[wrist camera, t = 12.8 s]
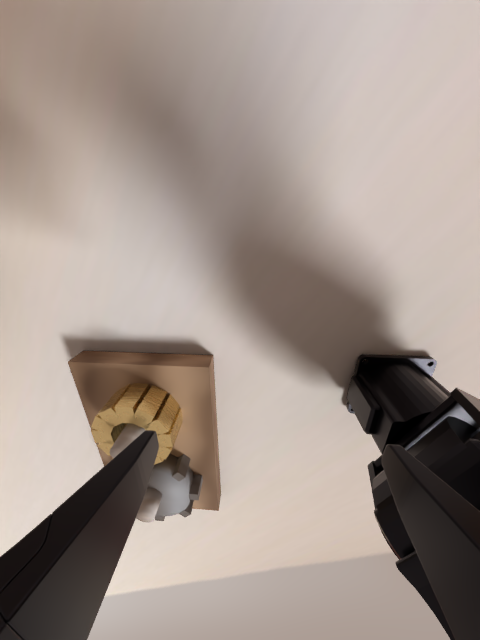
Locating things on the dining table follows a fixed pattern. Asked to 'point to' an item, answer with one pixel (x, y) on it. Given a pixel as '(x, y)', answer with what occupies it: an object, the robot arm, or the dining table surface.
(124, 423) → the brass gear
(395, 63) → the dining table surface
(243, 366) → the dining table surface
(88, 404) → the gear board
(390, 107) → the dining table surface
